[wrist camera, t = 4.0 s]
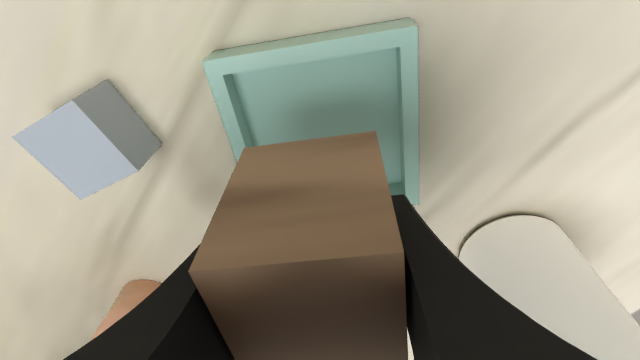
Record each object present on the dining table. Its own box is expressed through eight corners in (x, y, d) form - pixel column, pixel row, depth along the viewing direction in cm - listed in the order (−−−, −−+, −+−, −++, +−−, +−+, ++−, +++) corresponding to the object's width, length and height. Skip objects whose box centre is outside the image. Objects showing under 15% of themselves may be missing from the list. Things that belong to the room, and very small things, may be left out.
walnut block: (383, 232, 14) (408, 372, 9) (274, 243, 14) (246, 380, 10) (375, 130, 11) (403, 252, 7) (243, 147, 12) (188, 271, 7)
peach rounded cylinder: (188, 313, 28) (166, 370, 24) (138, 317, 28) (108, 373, 25) (166, 276, 25) (137, 333, 22) (111, 281, 26) (74, 338, 22)
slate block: (163, 142, 19) (138, 171, 17) (111, 169, 20) (80, 199, 18) (109, 78, 17) (71, 99, 15) (55, 111, 18) (11, 137, 16)
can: (585, 229, 22) (800, 472, 12) (515, 291, 25) (635, 519, 15) (497, 197, 20) (654, 436, 10) (437, 266, 24) (512, 496, 14)
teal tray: (412, 185, 20) (419, 204, 19) (262, 202, 21) (257, 221, 20) (409, 17, 15) (417, 25, 14) (213, 50, 16) (201, 61, 15)
